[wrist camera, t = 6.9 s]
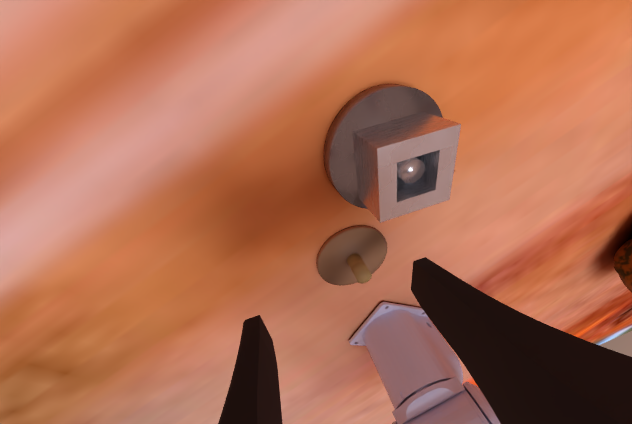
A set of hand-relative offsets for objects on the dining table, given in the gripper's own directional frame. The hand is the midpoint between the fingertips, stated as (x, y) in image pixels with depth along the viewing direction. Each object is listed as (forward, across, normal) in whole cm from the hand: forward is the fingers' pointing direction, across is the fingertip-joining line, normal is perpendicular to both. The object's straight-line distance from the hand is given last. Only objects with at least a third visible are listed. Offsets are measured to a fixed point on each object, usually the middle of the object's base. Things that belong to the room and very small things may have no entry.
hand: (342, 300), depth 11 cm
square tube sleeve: (+9, -7, -2) cm, 11 cm away
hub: (+10, -7, -2) cm, 13 cm away
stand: (+10, -4, +8) cm, 14 cm away
